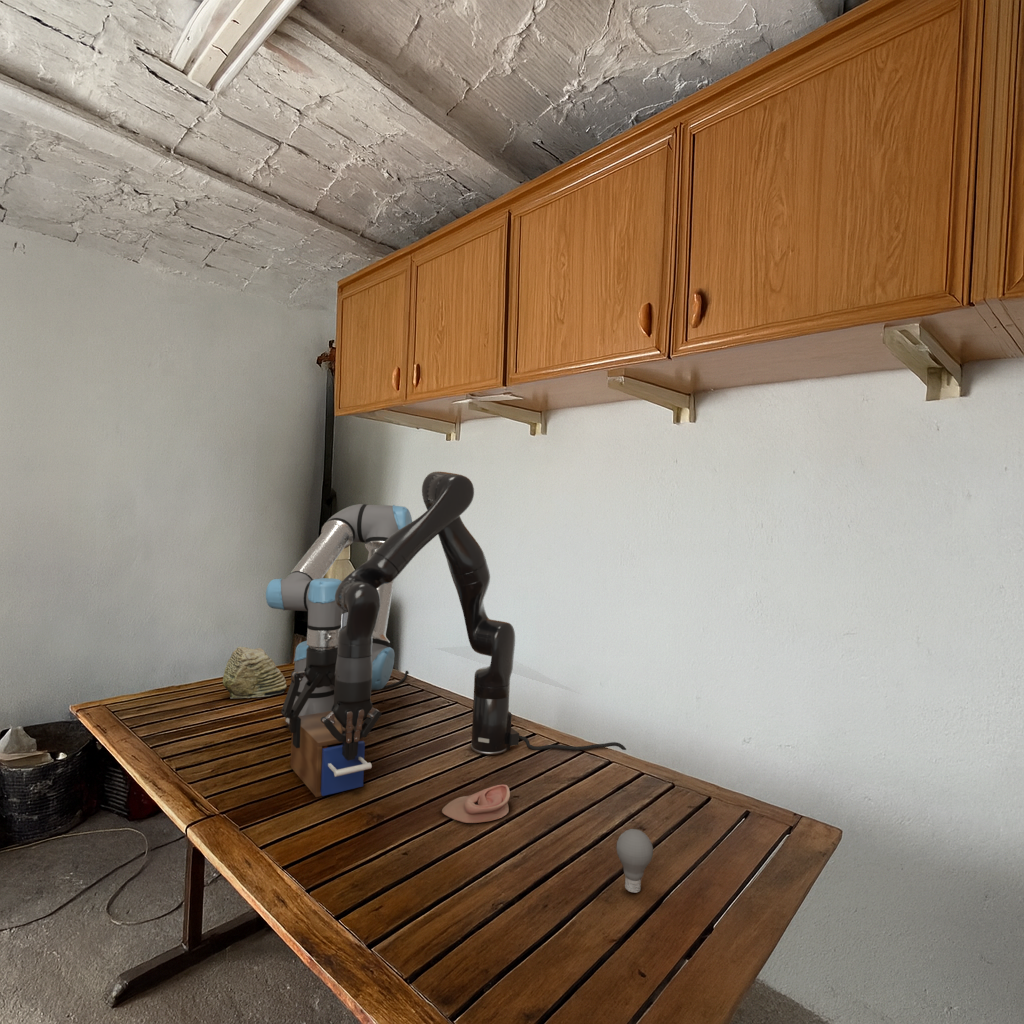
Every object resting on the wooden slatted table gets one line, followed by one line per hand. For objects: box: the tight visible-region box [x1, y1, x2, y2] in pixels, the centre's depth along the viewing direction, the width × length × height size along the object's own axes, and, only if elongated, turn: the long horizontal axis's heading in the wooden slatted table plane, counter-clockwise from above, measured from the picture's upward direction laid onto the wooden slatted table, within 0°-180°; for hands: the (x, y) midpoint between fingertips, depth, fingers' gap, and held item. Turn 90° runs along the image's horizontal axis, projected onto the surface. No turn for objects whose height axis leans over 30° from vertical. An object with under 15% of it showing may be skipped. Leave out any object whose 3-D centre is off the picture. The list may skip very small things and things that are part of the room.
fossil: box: [222, 646, 288, 699], centre depth 198 cm, size 9×18×15 cm, turn 132°
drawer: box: [321, 741, 373, 797], centre depth 139 cm, size 22×9×10 cm, turn 36°
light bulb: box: [615, 828, 654, 894], centre depth 106 cm, size 6×6×10 cm
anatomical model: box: [441, 784, 511, 824], centre depth 131 cm, size 13×4×12 cm
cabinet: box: [289, 711, 365, 798], centre depth 143 cm, size 18×10×12 cm, turn 36°
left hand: (319, 741), depth 147 cm, fingers closed on cabinet, 10 cm apart
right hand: (349, 758), depth 132 cm, fingers closed
